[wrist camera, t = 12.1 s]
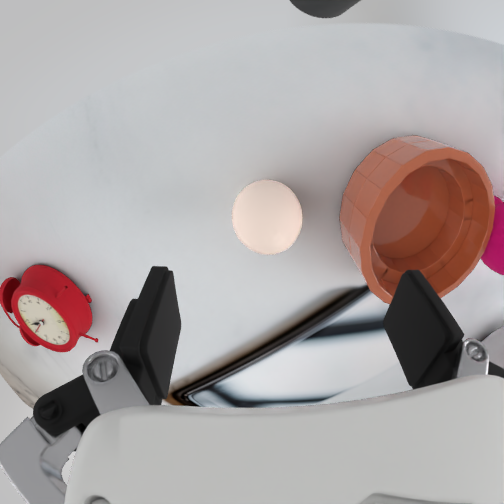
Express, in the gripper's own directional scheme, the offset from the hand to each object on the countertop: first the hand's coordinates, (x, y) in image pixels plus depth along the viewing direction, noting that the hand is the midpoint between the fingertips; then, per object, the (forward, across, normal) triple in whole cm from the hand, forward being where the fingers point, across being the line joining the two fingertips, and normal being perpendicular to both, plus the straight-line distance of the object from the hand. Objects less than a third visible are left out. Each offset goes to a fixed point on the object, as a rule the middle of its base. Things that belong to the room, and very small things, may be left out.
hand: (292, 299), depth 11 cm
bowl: (+13, -13, +1) cm, 18 cm away
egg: (+13, 0, +1) cm, 13 cm away
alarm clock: (+12, +25, +13) cm, 31 cm away
